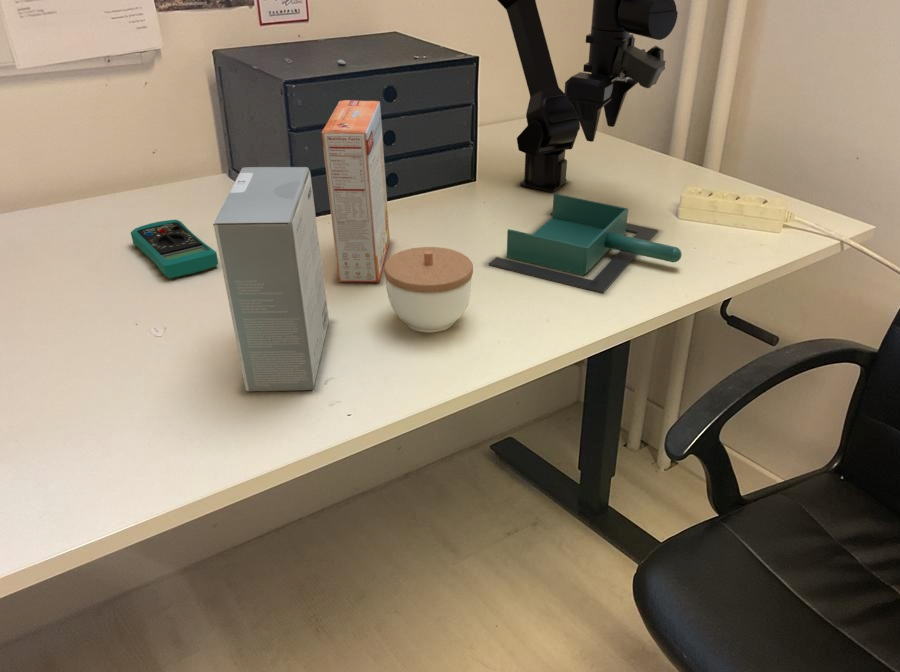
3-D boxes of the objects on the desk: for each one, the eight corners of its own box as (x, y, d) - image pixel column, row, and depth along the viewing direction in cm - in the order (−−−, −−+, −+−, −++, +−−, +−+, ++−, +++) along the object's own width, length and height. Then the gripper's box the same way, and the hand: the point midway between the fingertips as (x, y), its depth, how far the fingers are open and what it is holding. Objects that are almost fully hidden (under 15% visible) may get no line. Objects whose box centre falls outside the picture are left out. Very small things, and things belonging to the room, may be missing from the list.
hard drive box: (267, 322, 100) (242, 165, 89) (329, 321, 101) (313, 165, 90) (243, 393, 87) (211, 220, 76) (315, 392, 88) (293, 220, 77)
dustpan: (506, 257, 118) (507, 229, 116) (552, 218, 131) (554, 193, 128) (661, 294, 110) (665, 265, 107) (694, 249, 122) (699, 222, 120)
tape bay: (488, 265, 116) (488, 263, 115) (556, 210, 134) (556, 208, 134) (602, 293, 109) (603, 291, 109) (657, 231, 127) (658, 229, 127)
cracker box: (350, 241, 121) (338, 98, 110) (391, 242, 121) (382, 99, 110) (334, 283, 109) (319, 128, 98) (379, 284, 110) (368, 129, 98)
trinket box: (406, 350, 96) (402, 279, 90) (375, 310, 104) (370, 242, 98) (487, 331, 100) (488, 262, 95) (451, 294, 108) (450, 228, 103)
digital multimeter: (181, 233, 122) (177, 214, 120) (221, 268, 112) (217, 248, 111) (131, 245, 118) (127, 226, 116) (168, 282, 108) (163, 262, 107)
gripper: (642, 45, 109) (629, 158, 118) (681, 24, 123) (667, 126, 132) (566, 35, 113) (559, 146, 122) (613, 16, 127) (603, 116, 136)
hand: (600, 133), depth 128 cm, fingers open, 9 cm apart
